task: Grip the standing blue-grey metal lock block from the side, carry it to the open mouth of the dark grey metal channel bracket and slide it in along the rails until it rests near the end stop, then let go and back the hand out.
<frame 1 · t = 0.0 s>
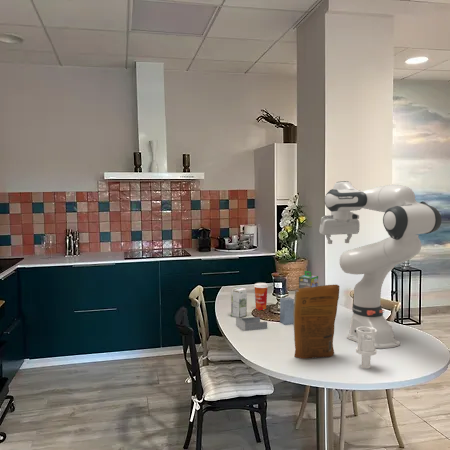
hand: (338, 243, 212), 39 cm above the table, tool pointing down, fingers open, 8 cm apart
pancake mix bag: (315, 357, 169), on the table
chalk box: (308, 294, 275), on the table
paper cup: (261, 309, 240), on the table
white stepped cylinder: (365, 367, 159), on the table
channel bracket: (252, 326, 208), on the table
lock block: (286, 323, 214), on the table
syrup box: (239, 316, 226), on the table
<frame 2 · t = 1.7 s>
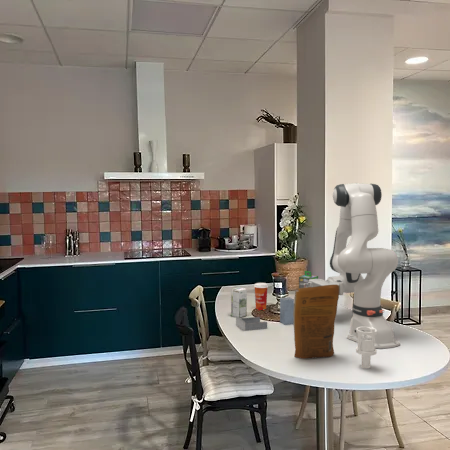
hand: (309, 287, 216), 17 cm above the table, tool horizontal, fingers open, 8 cm apart
nothing on the table moved.
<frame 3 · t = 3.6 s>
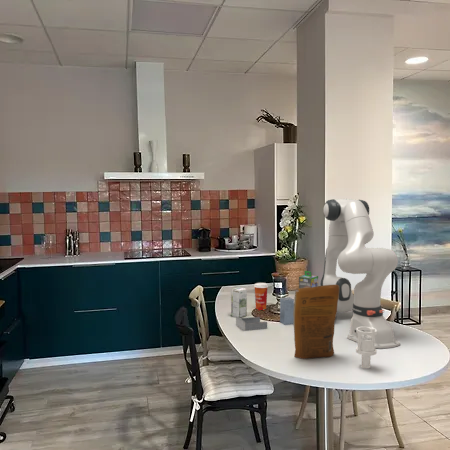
hand: (300, 307, 216), 7 cm above the table, tool horizontal, fingers open, 8 cm apart
nothing on the table moved.
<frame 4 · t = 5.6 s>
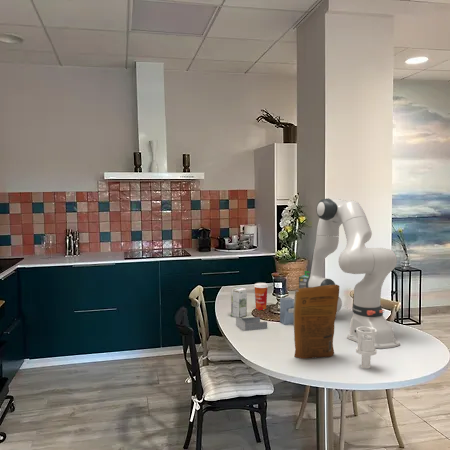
hand: (285, 308, 213), 7 cm above the table, tool horizontal, fingers closed on lock block, 5 cm apart
lock block: (286, 323, 214), on the table, touching gripper
everything else where it was.
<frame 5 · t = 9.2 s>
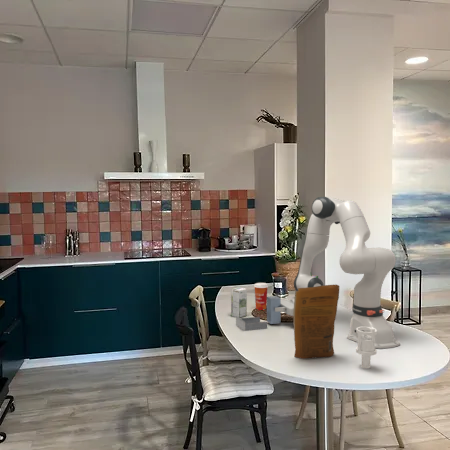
hand: (271, 307, 211), 8 cm above the table, tool horizontal, fingers closed on lock block, 5 cm apart
lock block: (273, 322, 212), point 1 cm above the table, touching gripper
everything else where it was.
when the fingers open (8 cm above the table, at t = 12.7 s): lock block stays where it is, resting in channel bracket.
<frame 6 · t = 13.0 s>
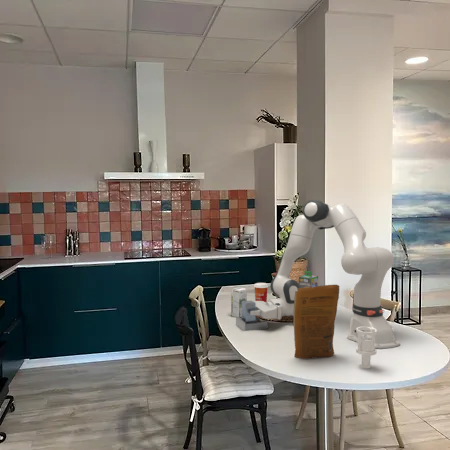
hand: (246, 310, 207), 8 cm above the table, tool horizontal, fingers open, 7 cm apart
lock block: (248, 327, 208), resting in channel bracket
everything else where it was.
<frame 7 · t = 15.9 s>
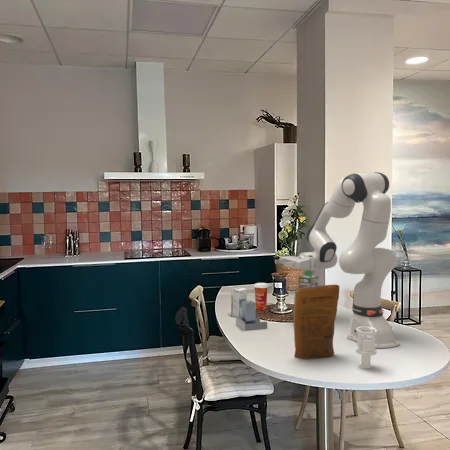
hand: (279, 263, 210), 30 cm above the table, tool horizontal, fingers open, 8 cm apart
nothing on the table moved.
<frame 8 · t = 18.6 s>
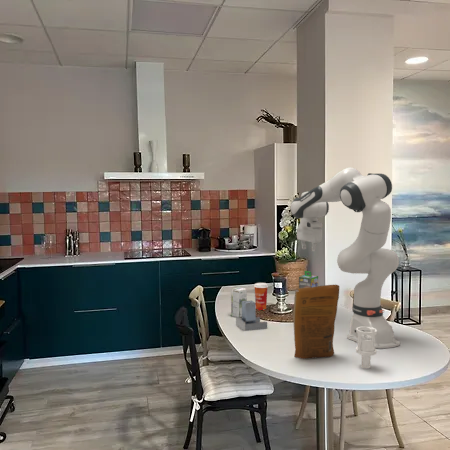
hand: (308, 250, 224), 34 cm above the table, tool pointing down, fingers open, 8 cm apart
nothing on the table moved.
at the end: lock block 1.9 cm from the channel bracket (horizontally); lock block tilted 0°; the gripper is holding nothing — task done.
